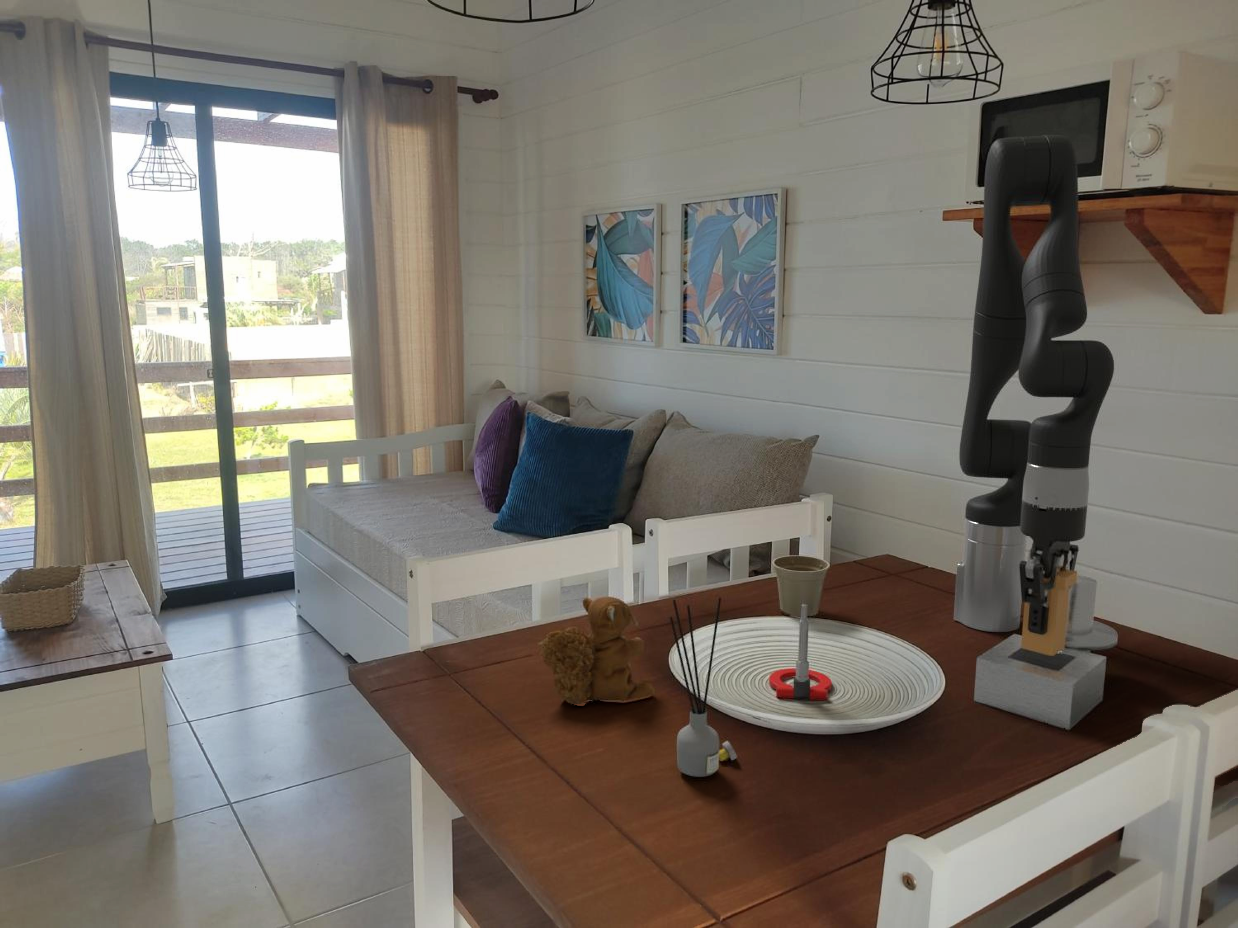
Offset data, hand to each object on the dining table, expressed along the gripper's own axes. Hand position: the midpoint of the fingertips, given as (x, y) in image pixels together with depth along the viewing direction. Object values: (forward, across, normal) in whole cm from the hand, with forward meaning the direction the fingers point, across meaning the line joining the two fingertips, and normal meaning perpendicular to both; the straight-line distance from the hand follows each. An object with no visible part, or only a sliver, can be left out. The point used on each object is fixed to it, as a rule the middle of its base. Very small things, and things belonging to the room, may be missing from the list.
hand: (1044, 627), depth 121 cm
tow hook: (+10, +18, -25) cm, 33 cm away
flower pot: (+10, -7, -42) cm, 44 cm away
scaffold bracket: (+10, -5, 0) cm, 11 cm away
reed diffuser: (+10, +45, -21) cm, 51 cm away
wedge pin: (+3, 0, 0) cm, 3 cm away
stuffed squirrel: (+10, +40, -43) cm, 59 cm away
